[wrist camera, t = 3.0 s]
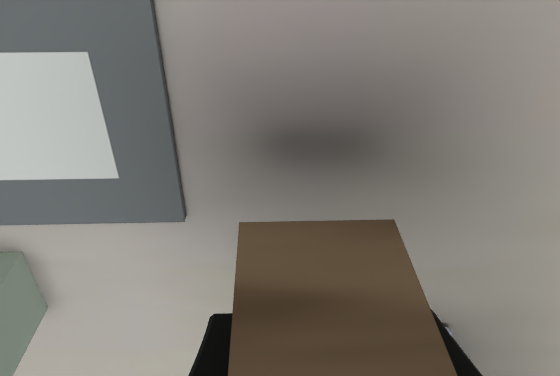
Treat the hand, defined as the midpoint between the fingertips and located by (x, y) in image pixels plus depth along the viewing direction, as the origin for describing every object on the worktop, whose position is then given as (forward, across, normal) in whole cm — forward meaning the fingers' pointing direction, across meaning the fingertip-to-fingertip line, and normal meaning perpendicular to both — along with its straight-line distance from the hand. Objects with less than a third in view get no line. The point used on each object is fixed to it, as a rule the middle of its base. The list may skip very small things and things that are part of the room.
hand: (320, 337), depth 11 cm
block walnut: (+2, 0, 0) cm, 2 cm away
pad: (+9, +10, -2) cm, 13 cm away
